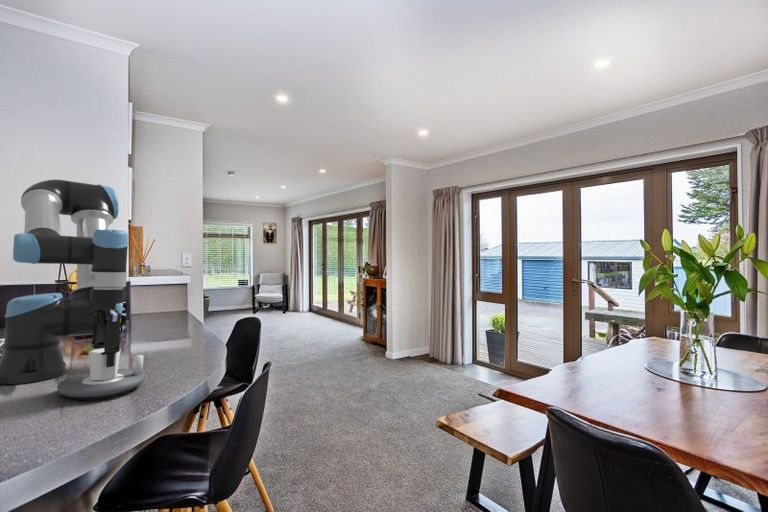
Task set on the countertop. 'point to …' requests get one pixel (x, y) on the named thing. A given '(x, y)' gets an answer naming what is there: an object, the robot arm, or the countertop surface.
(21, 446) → the countertop surface
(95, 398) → the base
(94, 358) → the white cup
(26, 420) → the countertop surface
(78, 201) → the robot arm
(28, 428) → the countertop surface
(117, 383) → the disc
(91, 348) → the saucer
